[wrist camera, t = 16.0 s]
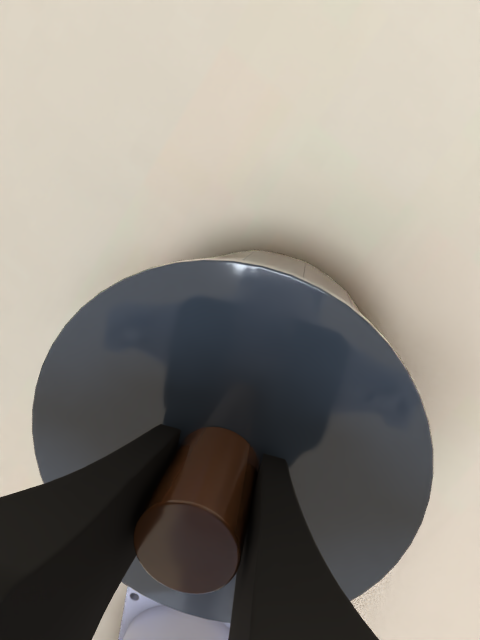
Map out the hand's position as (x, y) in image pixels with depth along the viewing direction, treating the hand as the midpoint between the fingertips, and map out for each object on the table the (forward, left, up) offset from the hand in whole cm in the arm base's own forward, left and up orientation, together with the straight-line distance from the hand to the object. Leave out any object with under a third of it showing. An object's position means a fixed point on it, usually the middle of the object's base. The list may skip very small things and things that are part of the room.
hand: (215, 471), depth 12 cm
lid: (0, 0, -1) cm, 1 cm away
